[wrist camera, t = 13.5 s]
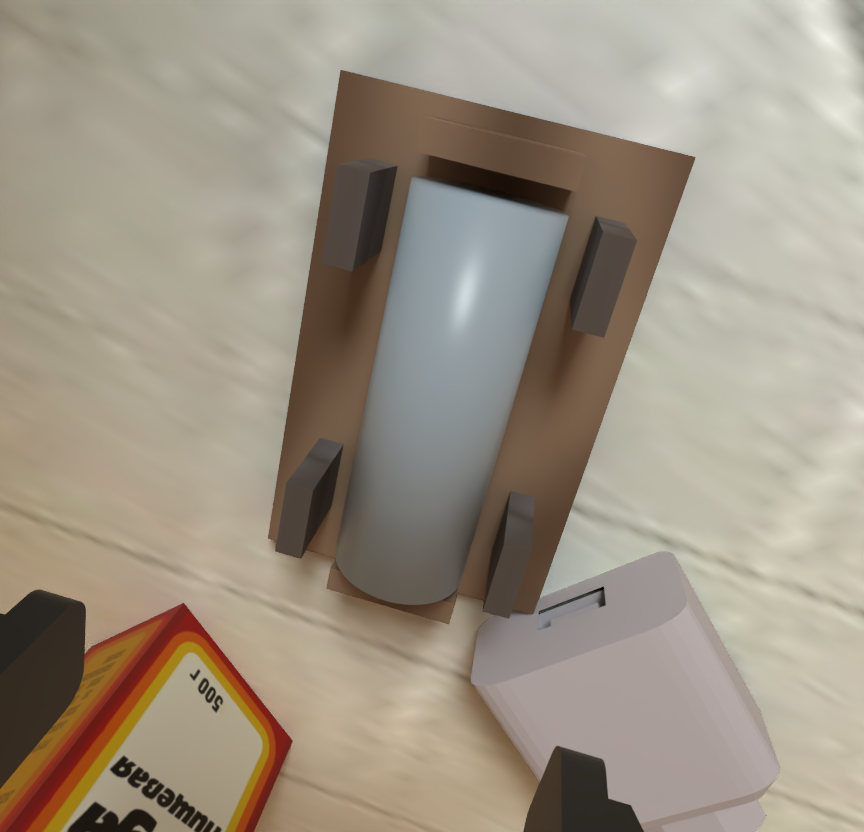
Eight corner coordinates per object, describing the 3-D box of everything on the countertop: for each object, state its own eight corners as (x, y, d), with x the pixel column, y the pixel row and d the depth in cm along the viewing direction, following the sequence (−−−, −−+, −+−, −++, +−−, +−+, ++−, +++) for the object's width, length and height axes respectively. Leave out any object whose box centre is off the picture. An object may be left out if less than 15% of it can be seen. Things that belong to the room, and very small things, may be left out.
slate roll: (467, 543, 30) (454, 619, 25) (352, 512, 30) (319, 583, 26) (565, 207, 24) (572, 227, 20) (423, 171, 24) (398, 183, 20)
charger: (624, 839, 36) (479, 617, 33) (808, 792, 33) (670, 542, 30) (634, 936, 32) (467, 693, 28) (846, 891, 29) (690, 614, 25)
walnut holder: (276, 526, 32) (230, 592, 28) (348, 72, 25) (301, 59, 20) (533, 600, 32) (530, 681, 27) (690, 156, 24) (721, 162, 19)
